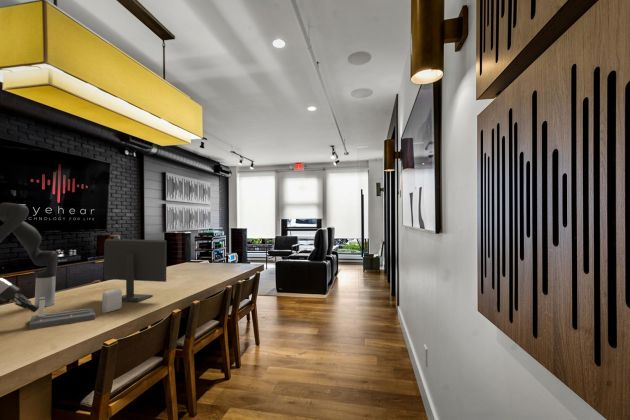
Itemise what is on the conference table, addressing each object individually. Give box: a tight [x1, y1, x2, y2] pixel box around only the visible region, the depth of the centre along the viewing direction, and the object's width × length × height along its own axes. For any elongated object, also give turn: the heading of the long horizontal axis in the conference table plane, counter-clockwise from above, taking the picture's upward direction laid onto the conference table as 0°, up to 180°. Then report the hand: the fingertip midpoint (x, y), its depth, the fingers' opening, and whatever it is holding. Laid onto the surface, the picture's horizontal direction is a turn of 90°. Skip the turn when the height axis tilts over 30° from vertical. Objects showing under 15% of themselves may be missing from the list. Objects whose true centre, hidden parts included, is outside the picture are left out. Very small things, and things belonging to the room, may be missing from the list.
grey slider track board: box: [28, 307, 96, 330], centre depth 163 cm, size 16×26×4 cm, turn 130°
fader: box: [37, 297, 46, 318], centre depth 157 cm, size 4×3×10 cm
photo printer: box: [101, 288, 123, 314], centre depth 181 cm, size 10×4×12 cm, turn 156°
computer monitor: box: [103, 238, 168, 303], centre depth 208 cm, size 44×16×40 cm, turn 84°
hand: (36, 310), depth 156 cm, fingers closed
